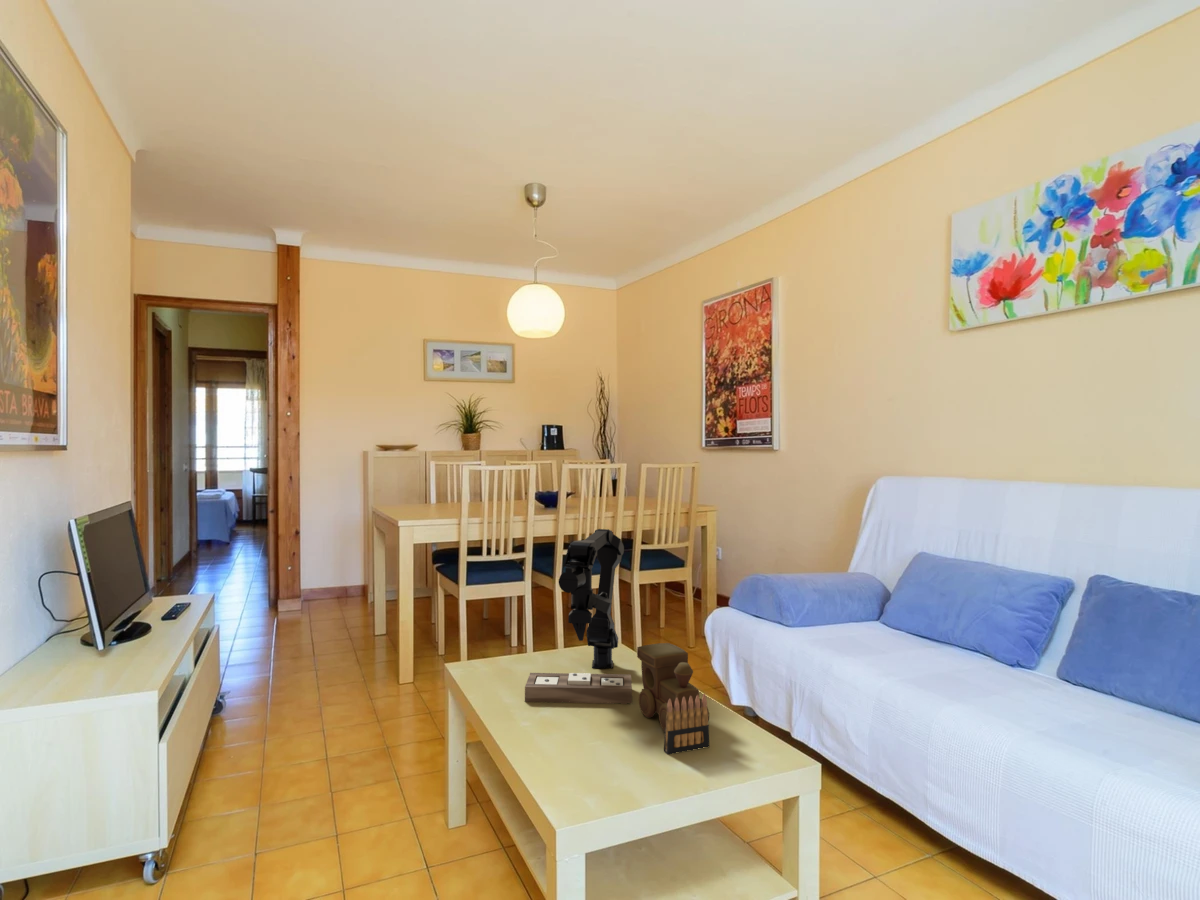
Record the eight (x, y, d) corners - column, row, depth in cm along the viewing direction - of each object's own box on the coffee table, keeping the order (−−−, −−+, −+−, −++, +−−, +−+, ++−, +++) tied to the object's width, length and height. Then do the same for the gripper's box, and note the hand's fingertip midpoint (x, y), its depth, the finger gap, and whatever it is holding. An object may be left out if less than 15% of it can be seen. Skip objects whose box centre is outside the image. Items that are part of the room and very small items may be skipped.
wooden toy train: (633, 710, 168) (633, 646, 168) (671, 703, 172) (671, 641, 172) (672, 741, 149) (673, 670, 149) (713, 733, 154) (714, 664, 154)
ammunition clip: (705, 743, 148) (706, 691, 148) (709, 747, 147) (710, 694, 147) (663, 750, 145) (664, 697, 145) (667, 754, 143) (667, 700, 143)
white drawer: (537, 686, 180) (537, 676, 180) (558, 686, 180) (558, 676, 180) (534, 694, 174) (534, 683, 174) (556, 694, 174) (556, 684, 174)
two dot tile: (569, 682, 180) (569, 672, 180) (590, 682, 180) (590, 672, 180) (567, 690, 174) (567, 679, 174) (589, 690, 174) (590, 680, 174)
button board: (530, 686, 183) (530, 672, 183) (630, 688, 182) (630, 674, 182) (524, 701, 172) (524, 686, 172) (631, 703, 171) (632, 688, 171)
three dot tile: (601, 687, 180) (601, 677, 180) (622, 687, 180) (622, 677, 180) (600, 695, 174) (601, 685, 174) (623, 695, 174) (623, 685, 174)
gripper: (609, 593, 175) (608, 650, 175) (609, 579, 193) (609, 631, 193) (568, 592, 175) (568, 650, 175) (572, 579, 194) (572, 631, 194)
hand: (581, 640), depth 184 cm, fingers closed
